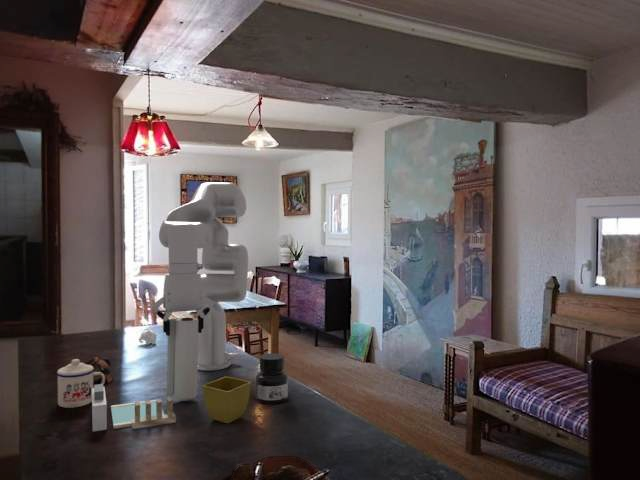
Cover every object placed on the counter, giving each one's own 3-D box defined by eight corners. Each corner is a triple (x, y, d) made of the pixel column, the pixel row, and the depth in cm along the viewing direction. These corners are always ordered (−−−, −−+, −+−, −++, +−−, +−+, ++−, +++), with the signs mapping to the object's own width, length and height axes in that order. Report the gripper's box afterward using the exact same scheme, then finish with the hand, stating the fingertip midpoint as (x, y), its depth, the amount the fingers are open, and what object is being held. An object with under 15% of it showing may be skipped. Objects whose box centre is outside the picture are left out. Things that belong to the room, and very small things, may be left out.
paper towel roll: (201, 395, 138) (203, 318, 137) (184, 402, 133) (186, 322, 132) (183, 390, 142) (185, 315, 141) (166, 396, 137) (167, 318, 136)
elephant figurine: (137, 343, 203) (137, 328, 203) (158, 341, 207) (158, 327, 207) (139, 347, 197) (139, 331, 197) (160, 345, 201) (160, 330, 200)
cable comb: (174, 418, 125) (174, 397, 125) (175, 422, 123) (175, 400, 123) (131, 425, 121) (131, 402, 120) (132, 429, 118) (132, 406, 118)
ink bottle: (256, 406, 134) (256, 361, 134) (252, 395, 143) (252, 353, 142) (292, 403, 137) (292, 359, 136) (285, 392, 145) (285, 351, 145)
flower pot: (228, 428, 119) (228, 391, 119) (201, 421, 124) (201, 384, 124) (251, 417, 127) (252, 381, 126) (225, 410, 131) (226, 375, 131)
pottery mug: (107, 387, 150) (92, 365, 148) (82, 399, 151) (66, 378, 149) (124, 366, 161) (110, 345, 159) (100, 377, 163) (86, 357, 161)
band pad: (158, 401, 137) (158, 399, 137) (166, 420, 124) (166, 417, 124) (110, 408, 132) (110, 405, 132) (113, 428, 119) (113, 425, 119)
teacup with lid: (60, 411, 129) (59, 366, 129) (54, 401, 137) (53, 358, 136) (109, 401, 137) (109, 359, 136) (100, 392, 144) (100, 352, 144)
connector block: (104, 409, 131) (104, 379, 131) (106, 429, 118) (106, 395, 118) (92, 411, 130) (91, 380, 129) (92, 431, 117) (92, 397, 117)
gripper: (212, 266, 142) (212, 327, 143) (147, 268, 135) (148, 333, 136) (218, 269, 136) (218, 333, 137) (151, 271, 128) (151, 339, 129)
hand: (183, 332), depth 136 cm, fingers closed on paper towel roll, 7 cm apart
